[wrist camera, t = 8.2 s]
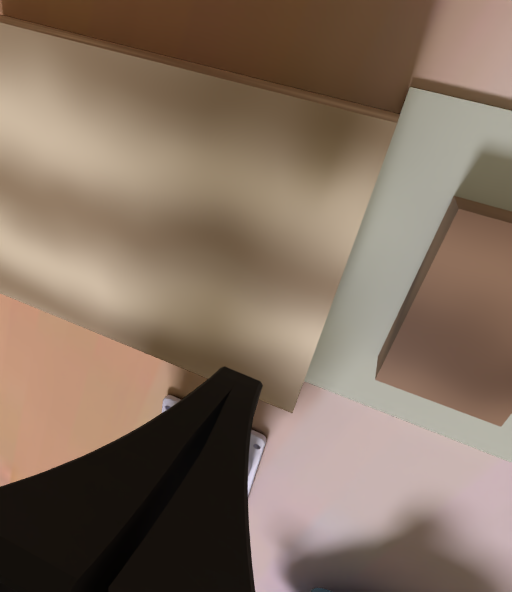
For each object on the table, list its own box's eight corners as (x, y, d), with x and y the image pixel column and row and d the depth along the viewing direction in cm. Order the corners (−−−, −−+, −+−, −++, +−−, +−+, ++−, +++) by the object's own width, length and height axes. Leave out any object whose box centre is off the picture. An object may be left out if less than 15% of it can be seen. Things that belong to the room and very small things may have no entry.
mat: (510, 458, 22) (511, 462, 21) (304, 377, 24) (303, 381, 24) (766, 170, 13) (773, 172, 13) (409, 86, 15) (409, 86, 15)
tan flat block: (308, 366, 23) (292, 413, 20) (33, 260, 27) (-20, 285, 24) (400, 114, 16) (397, 123, 12) (2, 15, 19) (-82, 1, 16)
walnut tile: (375, 379, 19) (377, 356, 21) (500, 426, 18) (493, 398, 20) (458, 208, 15) (453, 195, 16) (636, 258, 13) (611, 238, 15)
